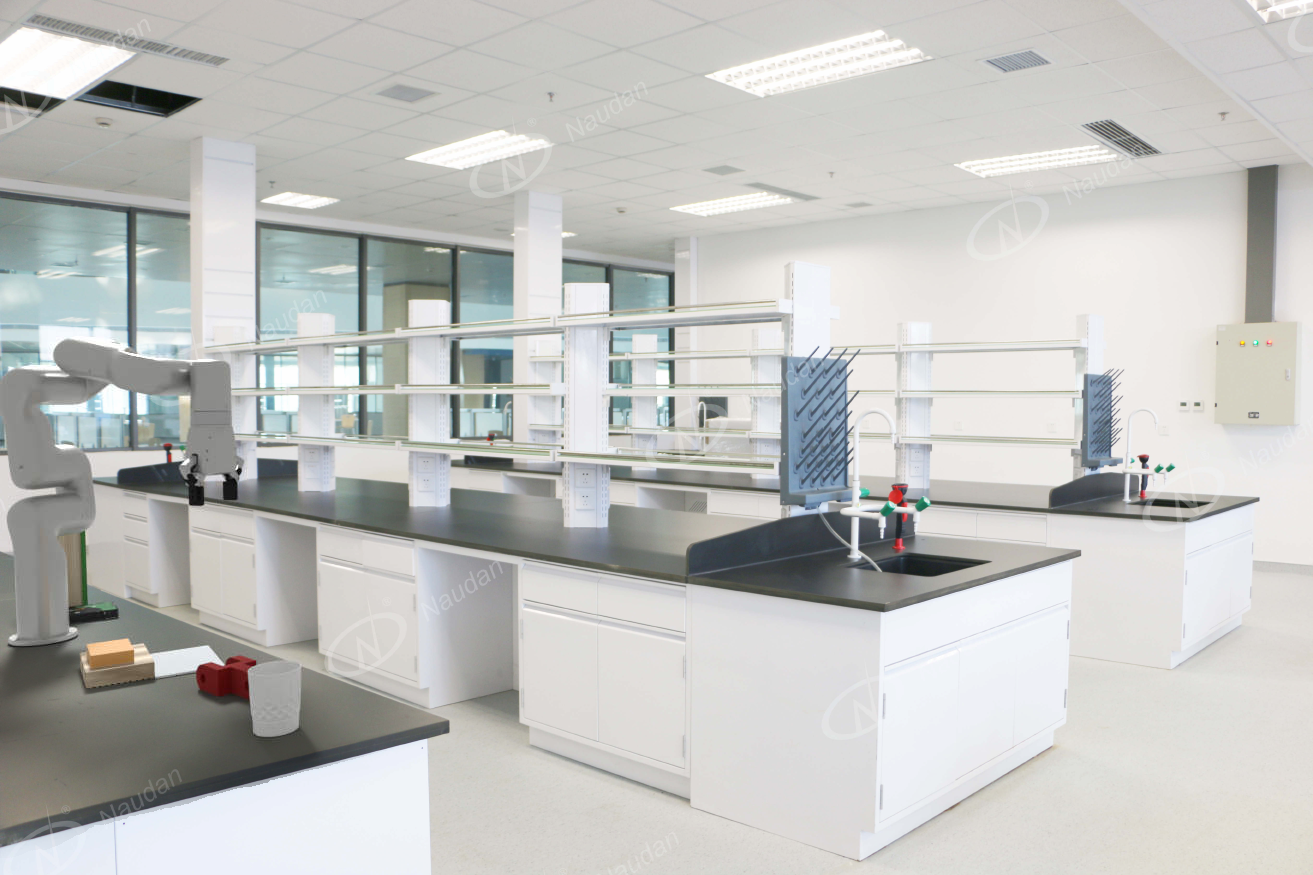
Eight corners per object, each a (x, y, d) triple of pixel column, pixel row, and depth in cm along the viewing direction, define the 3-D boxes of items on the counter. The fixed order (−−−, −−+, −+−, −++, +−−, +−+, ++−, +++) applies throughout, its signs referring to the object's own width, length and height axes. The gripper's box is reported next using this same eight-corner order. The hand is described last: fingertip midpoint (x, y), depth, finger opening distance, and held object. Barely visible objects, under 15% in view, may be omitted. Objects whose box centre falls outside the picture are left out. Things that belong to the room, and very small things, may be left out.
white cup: (313, 723, 145) (312, 662, 145) (278, 741, 138) (276, 677, 138) (274, 718, 148) (273, 658, 148) (237, 735, 141) (236, 672, 140)
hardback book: (88, 609, 225) (84, 514, 224) (52, 614, 220) (49, 517, 219) (72, 598, 238) (69, 508, 237) (38, 603, 233) (35, 511, 232)
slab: (86, 655, 174) (86, 644, 174) (128, 649, 179) (128, 638, 178) (90, 667, 166) (90, 655, 166) (134, 661, 170) (133, 649, 170)
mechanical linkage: (196, 689, 164) (195, 662, 164) (234, 679, 170) (234, 653, 169) (241, 706, 154) (241, 678, 154) (280, 695, 160) (280, 668, 160)
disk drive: (45, 629, 208) (119, 619, 217) (45, 617, 208) (119, 607, 217) (42, 621, 217) (114, 611, 226) (42, 609, 216) (113, 600, 225)
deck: (80, 667, 176) (79, 652, 176) (144, 657, 183) (143, 643, 183) (86, 688, 163) (85, 672, 163) (154, 677, 170) (154, 661, 170)
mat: (143, 656, 184) (143, 654, 184) (208, 646, 191) (208, 645, 191) (155, 678, 169) (155, 676, 169) (225, 667, 176) (225, 665, 176)
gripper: (225, 419, 194) (227, 497, 195) (163, 421, 177) (166, 507, 178) (255, 419, 192) (257, 498, 193) (196, 421, 175) (198, 508, 176)
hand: (214, 502), depth 185 cm, fingers open, 9 cm apart
